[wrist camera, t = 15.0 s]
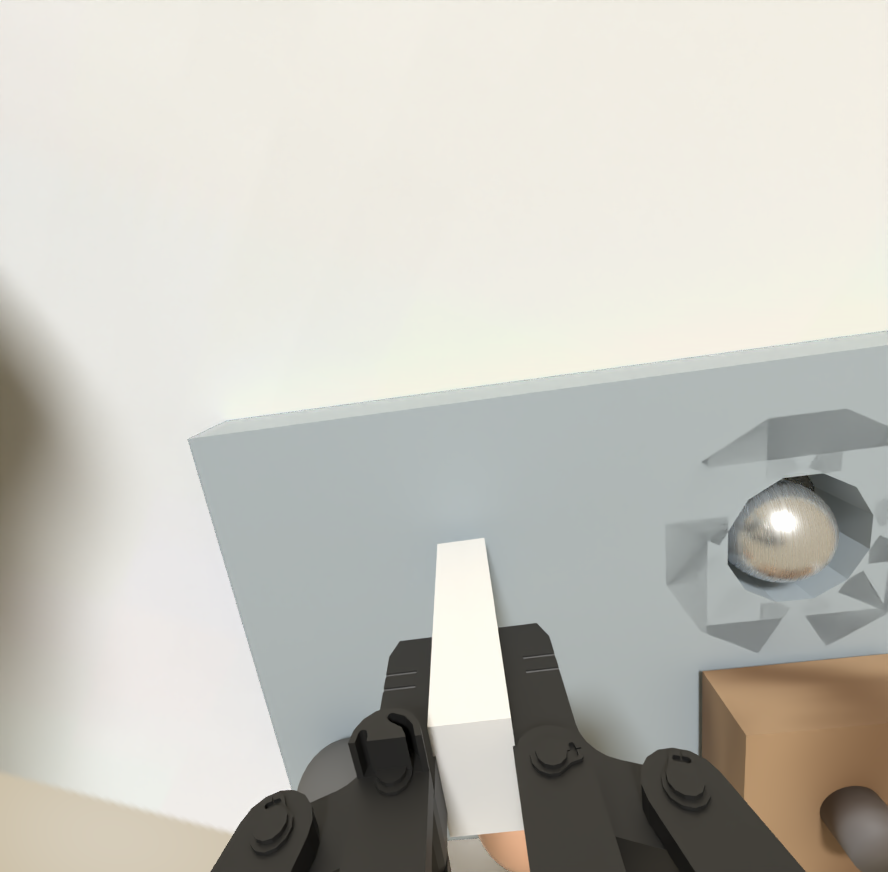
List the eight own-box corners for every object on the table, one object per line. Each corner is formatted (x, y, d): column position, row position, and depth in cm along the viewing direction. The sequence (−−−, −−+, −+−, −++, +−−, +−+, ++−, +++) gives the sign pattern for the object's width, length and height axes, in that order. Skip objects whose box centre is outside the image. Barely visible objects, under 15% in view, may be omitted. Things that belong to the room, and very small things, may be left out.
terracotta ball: (476, 795, 18) (480, 907, 15) (464, 725, 17) (466, 826, 14) (565, 788, 18) (590, 900, 14) (558, 717, 17) (583, 817, 14)
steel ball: (734, 583, 14) (874, 586, 13) (717, 471, 15) (848, 465, 14) (709, 579, 17) (820, 582, 16) (697, 487, 18) (801, 483, 17)
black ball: (323, 789, 18) (292, 898, 15) (303, 719, 17) (266, 817, 14) (409, 782, 18) (398, 890, 15) (394, 710, 17) (379, 808, 14)
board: (326, 790, 22) (310, 850, 19) (225, 420, 17) (187, 438, 14) (860, 745, 20) (915, 805, 18) (909, 327, 15) (993, 330, 13)
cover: (701, 808, 18) (763, 935, 14) (702, 671, 16) (773, 775, 12) (876, 795, 17) (986, 922, 14) (895, 652, 16) (1026, 754, 12)
